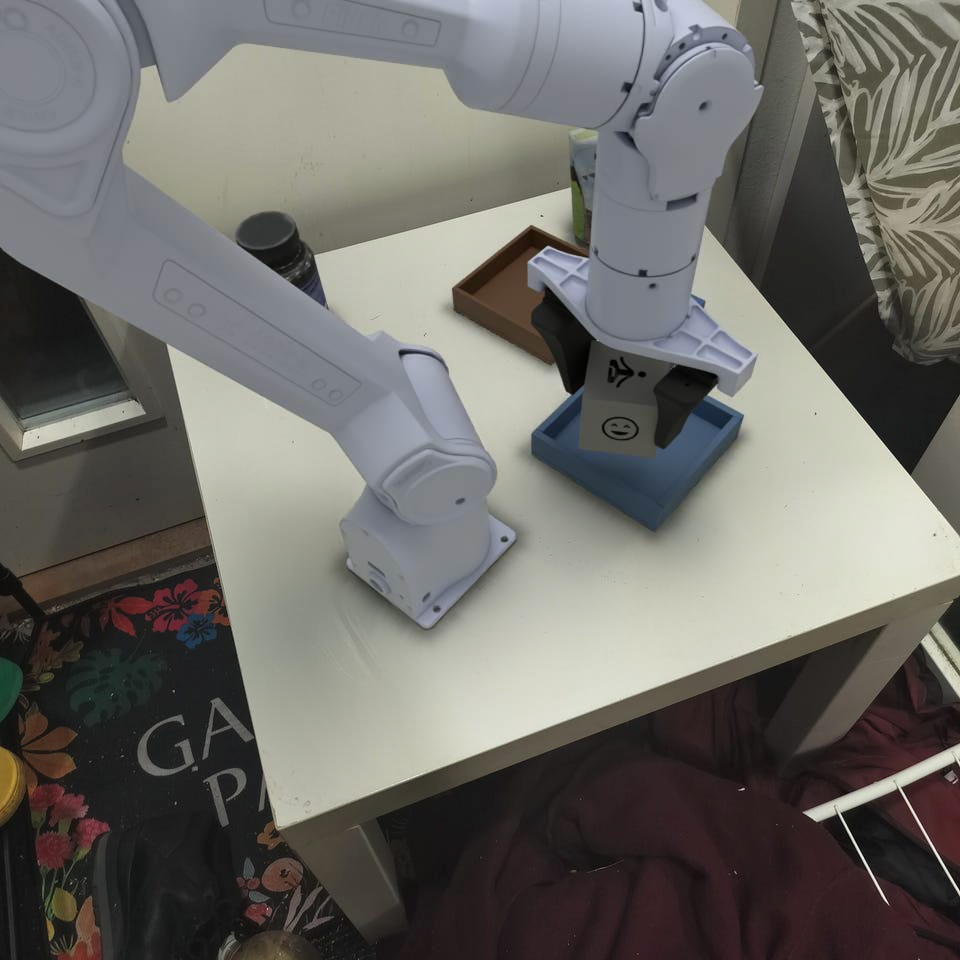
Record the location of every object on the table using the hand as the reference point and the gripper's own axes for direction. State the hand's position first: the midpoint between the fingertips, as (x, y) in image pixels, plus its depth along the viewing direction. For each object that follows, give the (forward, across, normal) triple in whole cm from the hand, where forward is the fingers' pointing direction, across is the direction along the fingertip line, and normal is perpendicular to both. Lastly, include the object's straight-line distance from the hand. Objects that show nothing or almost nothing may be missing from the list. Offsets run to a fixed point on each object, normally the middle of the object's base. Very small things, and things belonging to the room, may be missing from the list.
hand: (622, 410), depth 55 cm
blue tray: (+8, +1, -4) cm, 9 cm away
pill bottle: (+9, +30, +4) cm, 32 cm away
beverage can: (+9, +18, -23) cm, 30 cm away
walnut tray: (+8, +17, -12) cm, 22 cm away
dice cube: (+2, 0, 0) cm, 2 cm away
